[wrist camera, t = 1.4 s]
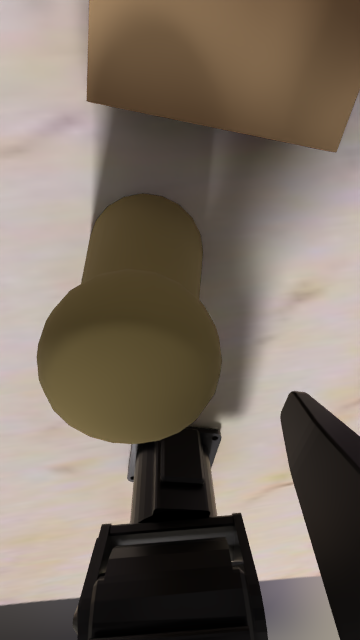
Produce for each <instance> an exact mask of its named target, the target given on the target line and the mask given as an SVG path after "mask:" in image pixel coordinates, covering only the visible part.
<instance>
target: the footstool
mask: <svg viewBox="0 0 360 640" xmlns="http://www.w3.org/2000/svg"><path fill="white" fill-rule="evenodd" d="M359 90H360V0H89V33H88V71H87V101H88V102H92V103H96V104H101V105H106V106H111V107H116V108H121V109H125V110H130V111H135V112H140V113H145V114H150V115H155V116H159V117H164V118H169V119H174V120H179V121H184V122H189V123H193V124H198V125H203V126H208V127H213V128H218V129H223V130H227V131H232V132H237V133H242V134H247V135H252V136H257V137H262V138H266V139H271V140H276V141H281V142H286V143H291V144H296V145H300V146H305V147H310V148H315V149H320V150H325V151H331V152H337V149H338V146H339V143H340V141H341V138H342V135H343V133H344V130H345V127H346V125H347V122H348V119H349V116H350V114H351V111H352V108H353V106H354V103H355V100H356V98H357V95H358V92H359Z"/></svg>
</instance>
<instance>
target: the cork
mask: <svg viewBox="0 0 360 640" xmlns="http://www.w3.org/2000/svg"><path fill="white" fill-rule="evenodd" d="M202 256H203V249H202V242H201V235H200V232H199V230H198V228H197V226H196V224H195V222H194V220H193V218H192V217H191V216H190V215H189V214H188V213H187V212H186V211H185V210H184V209H183V208H182V207H181V206H180V205H178V204H176V203H174V202H172V201H170V200H168V199H167V198H165V197H163V196H157V195H150V194H143V193H142V194H137V195H132V196H127V197H123V198H121V199H120V200H118V201H116V202H114V203H113V204H111V205H109V206H108V207H107V208H106V209H105V210H104V211H103V213H102V214H101V215H100V216H99V218H98V219H97V220H96V222H95V225H94V228H93V230H92V233H91V236H90V240H89V245H88V251H87V256H86V261H85V266H84V272H83V277H82V282H81V285H79V286H77V287H75V288H74V289H72V290H70V291H69V292H68V294H67V295H66V296H65V297H64V298H63V299H62V300H61V302H60V303H59V304H58V305H57V306H56V307H55V308H54V310H53V311H52V312H51V314H50V316H49V317H48V319H47V320H46V323H45V326H44V329H43V332H42V335H41V338H40V341H39V344H38V351H37V365H38V376H39V381H40V384H41V386H42V388H43V391H44V393H45V395H46V397H47V399H48V401H49V402H50V404H51V406H52V408H53V410H54V411H55V412H56V413H57V414H58V415H59V416H60V417H61V418H62V419H63V420H64V421H65V422H66V423H67V424H68V425H70V426H71V427H73V428H75V429H77V430H79V431H81V432H82V433H84V434H86V435H88V436H90V437H93V438H97V439H101V440H104V441H108V442H112V443H126V444H140V443H146V442H153V441H159V440H161V439H164V438H166V437H169V436H171V435H174V434H177V433H179V432H180V431H182V430H183V429H184V428H186V427H187V426H189V425H190V424H191V423H193V422H194V421H195V420H196V419H197V418H198V416H199V415H200V414H201V412H202V411H203V409H204V408H205V407H206V405H207V404H208V402H209V401H210V400H211V398H212V397H213V395H214V394H215V391H216V387H217V383H218V379H219V376H220V371H221V364H222V357H221V350H220V342H219V336H218V333H217V329H216V326H215V324H214V323H213V321H212V319H211V317H210V316H209V314H208V312H207V310H206V308H205V307H204V305H203V304H202V303H201V302H200V301H199V294H200V281H201V269H202Z"/></svg>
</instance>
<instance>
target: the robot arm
mask: <svg viewBox="0 0 360 640" xmlns="http://www.w3.org/2000/svg"><path fill="white" fill-rule="evenodd" d="M280 417H281V425H282V430H283V436H284V441H285V446H286V452H287V457H288V463H289V467H290V472H291V475H292V479H293V482H294V486H295V489H296V493H297V496H298V499H299V503H300V506H301V509H302V513H303V516H304V519H305V523H306V526H307V530H308V533H309V536H310V540H311V543H312V546H313V550H314V553H315V557H316V560H317V563H318V567H319V570H320V573H321V577H322V580H323V583H324V587H325V590H326V594H327V597H328V600H329V604H330V607H331V610H332V614H333V617H334V620H335V624H336V627H337V630H338V634H339V637H340V640H360V436H359V435H357V434H356V433H355V432H354V431H353V430H351V429H350V428H349V427H348V426H346V425H345V424H344V423H343V422H342V421H340V420H339V419H338V418H337V417H335V416H334V415H333V414H332V413H331V412H329V411H328V410H327V409H326V408H324V407H323V406H322V405H321V404H320V403H318V402H317V401H316V400H315V399H313V398H312V397H311V396H310V395H309V394H307V393H305V392H298V391H292V392H291V393H290V394H289V395H288V398H287V400H286V402H285V404H284V407H283V409H282V411H281V416H280ZM220 441H221V433H220V431H219V430H216V429H205V428H194V427H186V428H184V429H183V430H182V431H180V432H179V433H177V434H174V435H171V436H169V437H166V438H164V439H161V440H159V441H153V442H146V443H140V444H132V449H131V455H130V462H129V468H128V476H127V479H128V480H129V481H131V482H134V484H133V496H132V508H131V520H130V524H121V525H111V524H102V526H101V530H100V534H99V537H98V538H97V539H96V543H95V546H94V550H93V553H92V557H91V561H90V564H89V568H88V572H87V575H86V579H85V582H84V586H83V590H82V593H81V597H80V600H79V604H78V606H77V609H76V611H75V613H74V618H73V628H74V630H75V631H76V633H77V635H78V640H268V636H267V627H266V619H265V613H264V607H263V601H262V596H261V591H260V586H259V581H258V577H257V573H256V569H255V565H254V561H253V558H252V554H251V550H250V546H249V542H248V538H247V534H246V531H245V527H244V523H243V519H242V515H241V513H232V515H228V516H217V511H216V504H215V496H214V489H213V482H212V474H211V467H212V464H213V461H214V458H215V455H216V452H217V449H218V447H219V444H220ZM231 561H233V562H231Z"/></svg>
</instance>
